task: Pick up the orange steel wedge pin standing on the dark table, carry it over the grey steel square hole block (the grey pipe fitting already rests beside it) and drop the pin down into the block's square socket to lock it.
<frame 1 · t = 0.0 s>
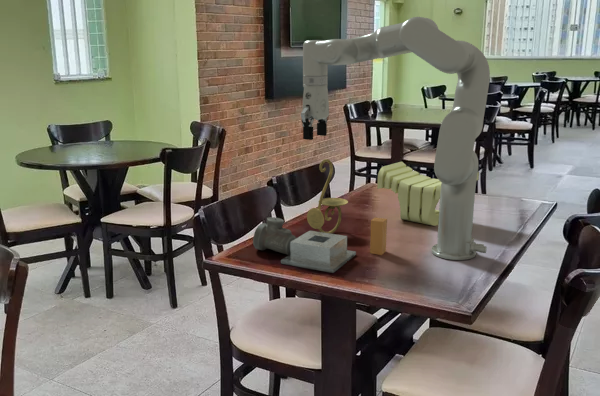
hand: (315, 137, 182), 31 cm above the table, fingers open, 9 cm apart
square hole block: (319, 259, 165), on the table
pipe fitting: (276, 252, 172), on the table
wedge pin: (378, 252, 171), on the table
wall sconce: (328, 235, 187), on the table
slatted curved stool: (425, 220, 204), on the table
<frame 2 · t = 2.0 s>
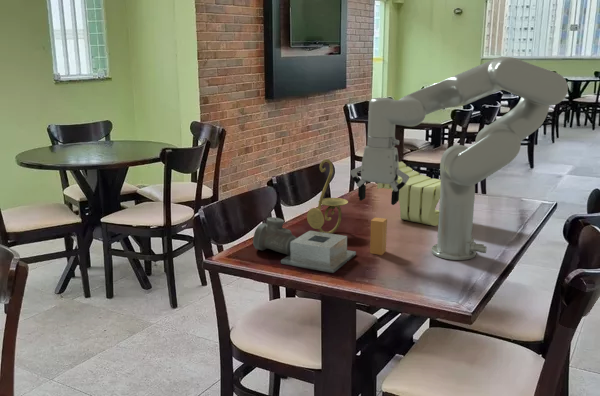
hand: (377, 201, 167), 15 cm above the table, fingers open, 9 cm apart
nothing on the table moved.
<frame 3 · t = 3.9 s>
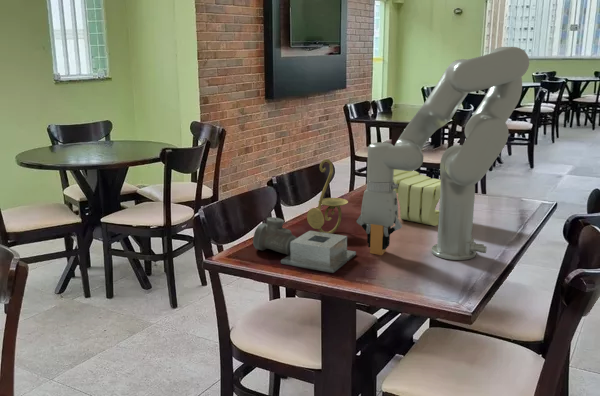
hand: (378, 246, 170), 2 cm above the table, fingers closed on wedge pin, 3 cm apart
wedge pin: (378, 252, 171), on the table, touching gripper
everything else where it was.
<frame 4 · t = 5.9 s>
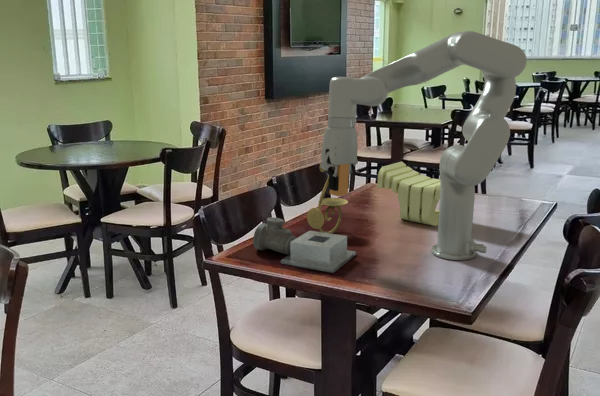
hand: (338, 188, 162), 20 cm above the table, fingers closed on wedge pin, 3 cm apart
wedge pin: (338, 194, 163), point 18 cm above the table, touching gripper
everything else where it was.
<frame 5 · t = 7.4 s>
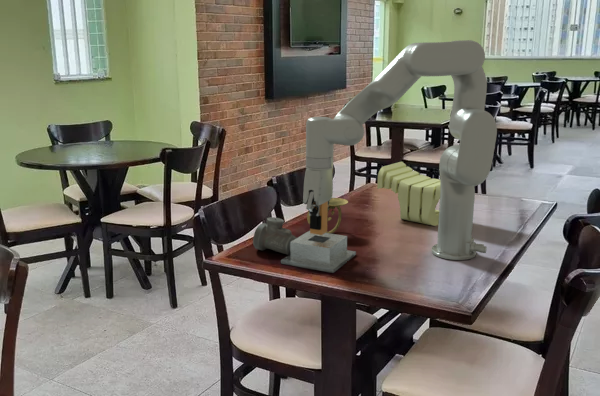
hand: (318, 226, 163), 10 cm above the table, fingers closed on wedge pin, 3 cm apart
wedge pin: (318, 232, 163), point 8 cm above the table, touching gripper
everything else where it was.
when the fingers open (7 cm above the table, at t = 8.3 s): wedge pin drops 4 cm, resting on square hole block.
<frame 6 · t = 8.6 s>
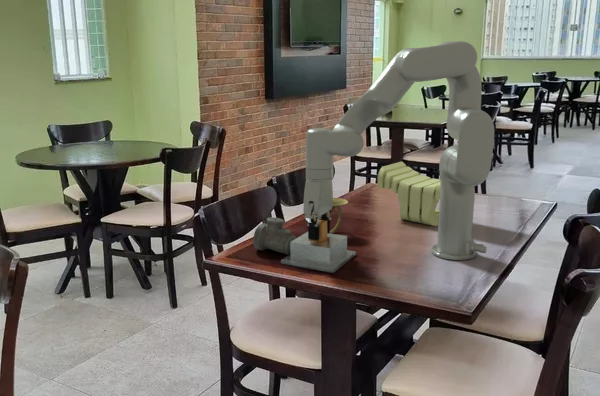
hand: (319, 235, 164), 7 cm above the table, fingers open, 6 cm apart
wedge pin: (319, 255, 165), point 1 cm above the table, touching square hole block
everything else where it was.
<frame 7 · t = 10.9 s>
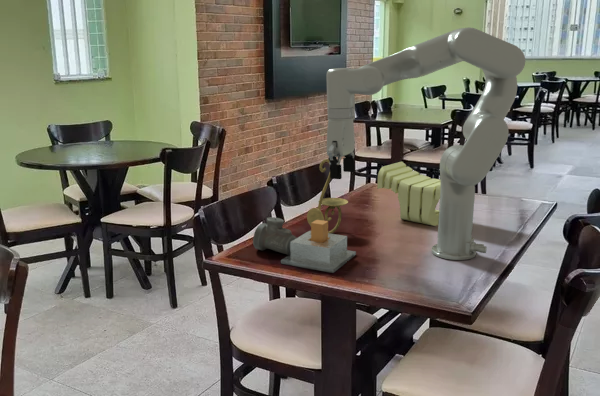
hand: (342, 175, 164), 24 cm above the table, fingers open, 9 cm apart
nothing on the table moved.
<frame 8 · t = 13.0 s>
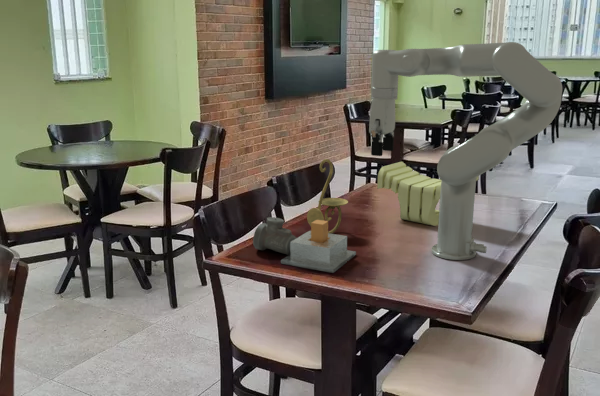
hand: (382, 153, 171), 28 cm above the table, fingers open, 9 cm apart
nothing on the table moved.
at the end: wedge pin 0.1 cm off-centre on the square hole block, point 1.0 cm above the square hole block's base; wedge pin tilted 0° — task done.
